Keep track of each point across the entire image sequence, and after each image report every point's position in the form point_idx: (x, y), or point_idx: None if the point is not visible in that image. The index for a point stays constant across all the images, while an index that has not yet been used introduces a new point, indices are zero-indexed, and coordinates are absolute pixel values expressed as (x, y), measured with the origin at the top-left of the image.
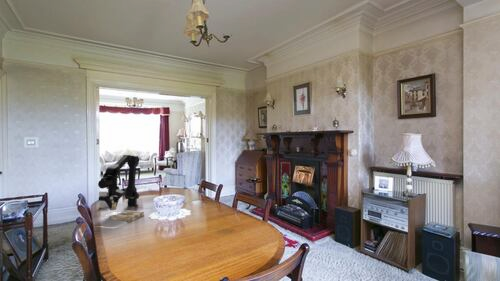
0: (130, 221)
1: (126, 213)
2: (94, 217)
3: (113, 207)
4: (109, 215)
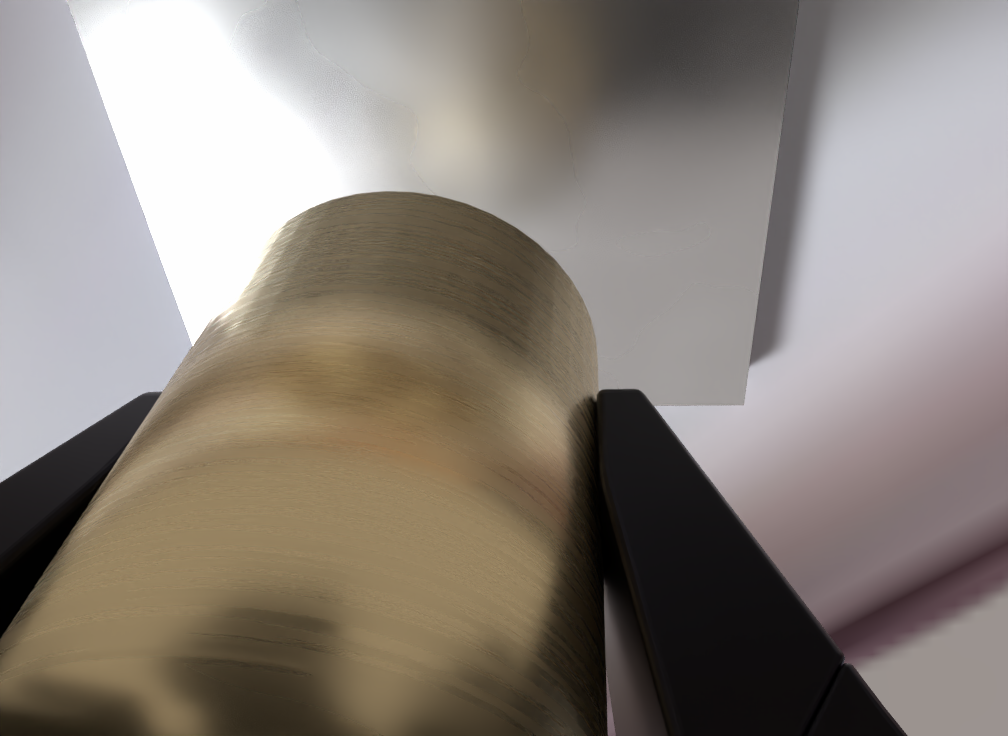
0: None
1: None
2: (807, 592)
3: (508, 339)
4: (651, 242)
